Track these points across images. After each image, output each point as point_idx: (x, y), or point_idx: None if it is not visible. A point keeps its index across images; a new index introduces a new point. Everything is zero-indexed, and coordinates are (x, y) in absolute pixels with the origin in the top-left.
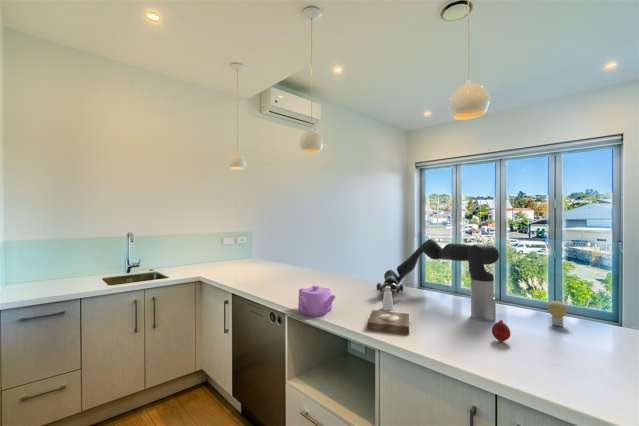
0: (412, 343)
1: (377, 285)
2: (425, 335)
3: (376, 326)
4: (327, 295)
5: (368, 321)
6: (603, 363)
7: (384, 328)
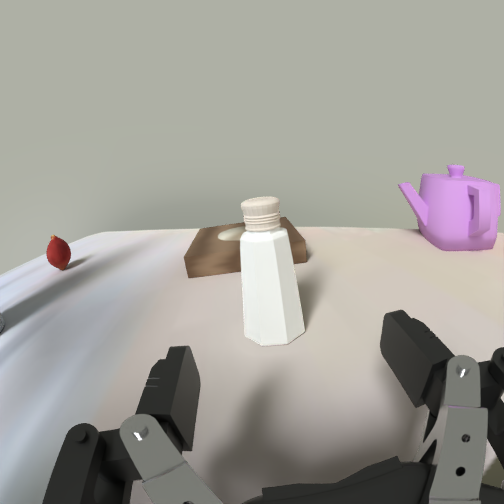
0: None
1: (497, 351)
2: (171, 250)
3: None
4: (431, 190)
5: (285, 217)
6: (20, 268)
7: None
